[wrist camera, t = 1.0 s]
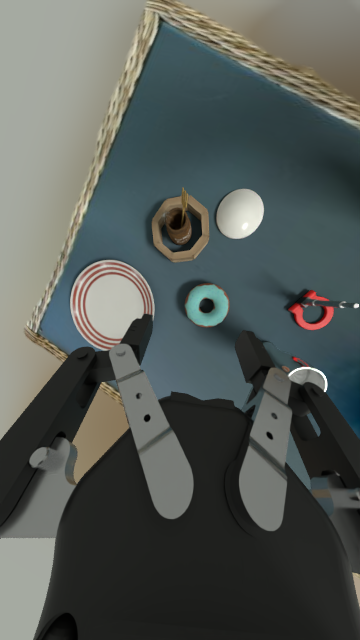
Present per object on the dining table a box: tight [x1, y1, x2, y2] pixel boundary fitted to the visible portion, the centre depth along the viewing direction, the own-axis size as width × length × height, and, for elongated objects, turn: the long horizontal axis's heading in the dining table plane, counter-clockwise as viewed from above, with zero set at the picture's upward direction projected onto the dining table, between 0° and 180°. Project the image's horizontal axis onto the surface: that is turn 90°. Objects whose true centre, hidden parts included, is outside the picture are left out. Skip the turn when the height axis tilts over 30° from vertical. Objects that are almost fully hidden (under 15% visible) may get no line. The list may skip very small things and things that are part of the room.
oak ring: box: [152, 195, 209, 262], centre depth 35 cm, size 14×14×3 cm
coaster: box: [216, 189, 264, 239], centre depth 34 cm, size 11×11×1 cm
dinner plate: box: [70, 260, 154, 351], centre depth 42 cm, size 28×27×3 cm
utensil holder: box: [161, 188, 192, 245], centre depth 31 cm, size 6×6×12 cm
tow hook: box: [288, 290, 359, 330], centre depth 29 cm, size 8×13×9 cm
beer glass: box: [262, 342, 327, 391], centre depth 31 cm, size 7×7×15 cm
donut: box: [185, 283, 229, 327], centre depth 37 cm, size 12×12×4 cm
